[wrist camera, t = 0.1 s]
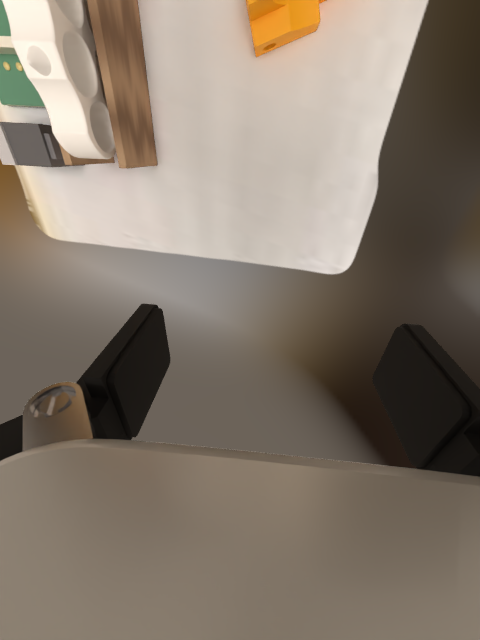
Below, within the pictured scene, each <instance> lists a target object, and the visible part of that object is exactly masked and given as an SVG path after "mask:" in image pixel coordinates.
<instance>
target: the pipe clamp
mask: <svg viewBox="0 0 480 640" xmlns="http://www.w3.org/2000/svg"><path fill="white" fill-rule="evenodd" d="M324 1H326V0H246V5H247V10H248V16H249V21H250V27H251V32H252V38H253V43H254V49H255V54H256V57H258V56H260V55H262V54H265V53H267V52H269V51H271V50H274V49H276V48H278V47H280V46H283V45H285V44H287V43H290V42H292V41H294V40H296V39H299V38H301V37H303V36H305V35H308V34H310V33H312V32H315V31H316V30H317V28H318V25H319V23H320V12H319V4H320V3H322V2H324Z"/></svg>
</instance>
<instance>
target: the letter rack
mask: <svg viewBox="0 0 480 640" xmlns="http://www.w3.org/2000/svg"><path fill="white" fill-rule="evenodd" d="M87 4H88V9H89V14H90V19H91V24H92V29H93V34H94V39H95V45H96V50H97V55H98V60H99V65H100V70H101V75H102V81H103V86H104V91H105V96H106V101H107V106H108V111H109V116H110V122H111V127H112V132H113V137H114V142H115V147H116V152H117V158H118V163H119V168H135V167H144V166H154V165H157V158H156V150H155V141H154V133H153V125H152V116H151V108H150V100H149V92H148V83H147V75H146V67H145V58H144V50H143V42H142V34H141V25H140V17H139V9H138V0H87ZM59 146H60V149H61V152H62V156H63V159H64V162H65V165H83V164H100V163H115V162H114V157H112V158H110V159H89V158H77V157H74V156H72V155H71V154H69V153H68V152H67V151H66V150H65V149H64V148H63V147H62V146H61V145H60V144H59Z"/></svg>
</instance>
